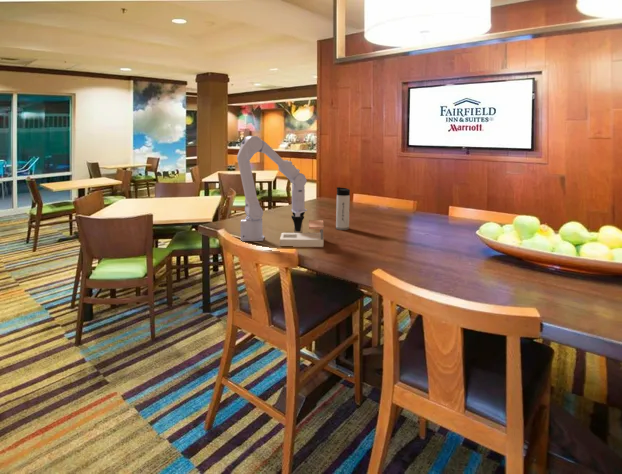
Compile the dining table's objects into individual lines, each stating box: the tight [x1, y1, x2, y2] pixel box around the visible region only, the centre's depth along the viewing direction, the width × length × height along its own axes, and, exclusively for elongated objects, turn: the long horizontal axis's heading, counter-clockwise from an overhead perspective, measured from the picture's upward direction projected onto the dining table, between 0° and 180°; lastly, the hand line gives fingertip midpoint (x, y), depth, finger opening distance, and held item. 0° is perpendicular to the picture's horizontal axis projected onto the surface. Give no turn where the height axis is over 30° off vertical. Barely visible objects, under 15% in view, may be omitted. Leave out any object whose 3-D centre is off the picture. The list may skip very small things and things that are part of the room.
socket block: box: [279, 219, 325, 248], centre depth 181 cm, size 18×13×8 cm
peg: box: [293, 220, 304, 233], centre depth 193 cm, size 4×4×8 cm
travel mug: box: [335, 186, 351, 231], centre depth 207 cm, size 6×7×20 cm
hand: (298, 229), depth 194 cm, fingers open, 7 cm apart
